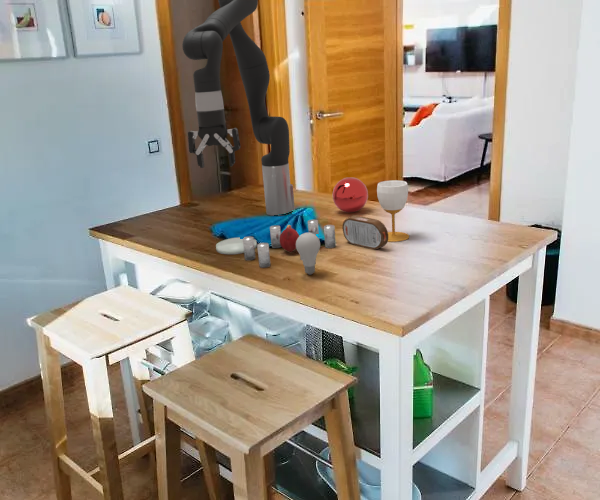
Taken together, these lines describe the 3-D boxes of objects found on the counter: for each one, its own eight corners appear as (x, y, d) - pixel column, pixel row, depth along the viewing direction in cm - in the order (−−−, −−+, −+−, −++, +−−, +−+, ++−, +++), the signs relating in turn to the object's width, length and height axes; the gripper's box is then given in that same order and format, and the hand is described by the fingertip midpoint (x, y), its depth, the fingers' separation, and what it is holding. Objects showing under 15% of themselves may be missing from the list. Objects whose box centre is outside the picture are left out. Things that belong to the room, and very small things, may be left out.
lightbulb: (297, 271, 155) (294, 230, 152) (320, 269, 156) (318, 228, 152) (299, 279, 150) (295, 237, 146) (323, 277, 150) (320, 235, 146)
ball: (374, 208, 207) (373, 174, 203) (359, 218, 198) (357, 182, 194) (343, 206, 213) (341, 173, 209) (327, 215, 204) (325, 180, 200)
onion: (298, 255, 167) (296, 228, 164) (278, 255, 168) (276, 228, 165) (302, 248, 172) (300, 222, 169) (283, 249, 173) (280, 222, 171)
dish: (244, 238, 186) (244, 234, 185) (264, 247, 176) (264, 243, 176) (209, 247, 179) (208, 244, 179) (228, 257, 170) (227, 253, 169)
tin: (389, 249, 166) (388, 220, 164) (382, 252, 164) (381, 223, 162) (348, 240, 177) (347, 212, 174) (341, 243, 175) (339, 215, 172)
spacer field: (308, 235, 184) (307, 216, 182) (345, 249, 169) (344, 228, 167) (236, 255, 171) (234, 235, 169) (269, 271, 156) (267, 250, 154)
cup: (412, 233, 178) (412, 180, 173) (404, 243, 170) (403, 187, 165) (383, 231, 182) (381, 179, 177) (374, 240, 174) (372, 186, 169)
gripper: (238, 105, 168) (243, 162, 173) (188, 108, 170) (195, 165, 175) (232, 108, 161) (239, 167, 166) (181, 111, 163) (189, 170, 168)
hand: (216, 166), depth 171 cm, fingers open, 8 cm apart
